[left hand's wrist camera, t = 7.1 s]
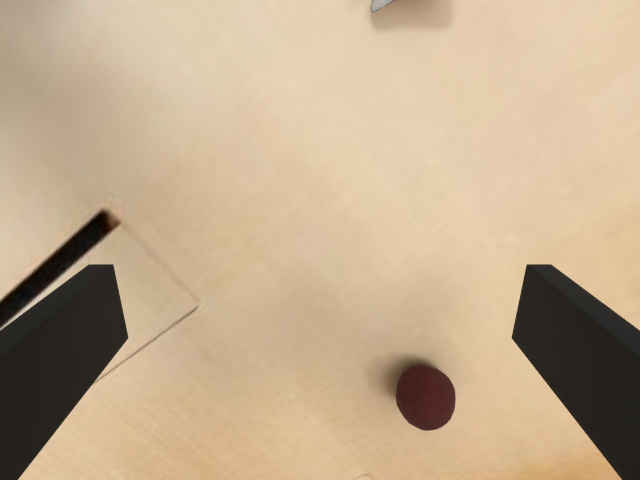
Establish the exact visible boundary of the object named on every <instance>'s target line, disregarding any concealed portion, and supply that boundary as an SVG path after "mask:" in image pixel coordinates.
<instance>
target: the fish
mask: <svg viewBox="0 0 640 480" xmlns="http://www.w3.org/2000/svg"><path fill="white" fill-rule="evenodd" d="M393 1H394V0H373V1H372V4H371V8H370V9H371V11H372V13H373V12H375V11H377V10H379V9H380V8H382V7H384V6H386V5H387V4H389V3H391V2H393Z"/></svg>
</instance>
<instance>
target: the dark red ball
mask: <svg viewBox="0 0 640 480" xmlns="http://www.w3.org/2000/svg"><path fill="white" fill-rule="evenodd" d="M396 401H397V406H398V408H399V410H400V412H401V413H402V415H403V416H404V418H405V419H406V420H407V421H408V422H409V423H410V424H412V425H413V426H415V427H417V428H419V429H421V430H425V431H428V430H435V429H438V428H440V427H442V426H444V425H445V424H446V423H447V422H448V421H449V420H450V419H451V416H452V414H453V412H454V409H455V389H454V387H453V384H452V383H451V381H450V379H449V378H448V377H447V376H446V375H445V374H444V373H442V372H441V371H439V370H438V369H435V368H432V367H428V366H425V365H419V366H414V367H411V368H408V369H407V370H406V371H405V372H404V373H403V374H402V376H401V378H400V379H399V381H398V384H397V390H396Z"/></svg>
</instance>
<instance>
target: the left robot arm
mask: <svg viewBox="0 0 640 480" xmlns="http://www.w3.org/2000/svg"><path fill="white" fill-rule="evenodd" d="M127 339H128V334H127V329H126V324H125V319H124V315H123V310H122V305H121V300H120V295H119V290H118V286H117V281H116V276H115V271H114V266H113V265H88V266H86V267H85V268H84V269H82V270H81V271H80V272H78V273H77V274H76V275H74V276H73V277H72V278H70V279H69V280H68V281H66V282H65V283H64V284H62V285H61V286H60V287H58V288H57V289H56V290H54V291H53V292H51V293H50V294H49V295H47V296H46V297H45V298H43V299H42V300H41V301H39V302H38V303H37V304H35V305H34V306H33V307H31V308H30V309H29V310H27V311H26V312H25V313H23V314H22V315H21V316H19V317H18V318H17V319H15V320H14V321H13V322H11V323H10V324H9V325H7V326H6V327H5V328H3V329H2V330H0V480H18V479H19V477H20V476H21V475H22V474H23V472H24V471H25V470H26V469H27V467H28V466H29V465H30V463H31V462H32V461H33V460H34V458H35V457H36V456H37V454H38V453H39V452H40V451H41V449H42V448H43V447H44V445H45V444H46V443H47V442H48V440H49V439H50V438H51V436H52V435H53V434H54V433H55V431H56V430H57V429H58V428H59V426H60V425H61V424H62V422H63V421H64V420H65V419H66V417H67V416H68V415H69V413H70V412H71V411H72V410H73V408H74V407H75V406H76V404H77V403H78V402H79V401H80V399H81V398H82V397H83V395H84V394H85V393H86V392H87V390H88V389H89V388H90V387H91V385H92V384H93V383H94V381H95V380H96V379H97V378H98V376H99V375H100V374H101V372H102V371H103V370H104V369H105V367H106V366H107V365H108V363H109V362H110V361H111V360H112V358H113V357H114V356H115V354H116V353H117V352H118V351H119V349H120V348H121V347H122V345H123V344H124V343H125V342H126V340H127ZM512 339H513V340H514V342H515V343H516V344H517V345H518V347H519V348H520V349H521V351H522V352H523V353H524V354H525V356H526V357H527V358H528V360H529V361H530V362H531V363H532V365H533V366H534V367H535V369H536V370H537V371H538V372H539V374H540V375H541V376H542V378H543V379H544V380H545V381H546V383H547V384H548V385H549V387H550V388H551V389H552V390H553V392H554V393H555V394H556V395H557V397H558V398H559V399H560V401H561V402H562V403H563V404H564V406H565V407H566V408H567V410H568V411H569V412H570V413H571V415H572V416H573V417H574V419H575V420H576V421H577V422H578V424H579V425H580V426H581V428H582V429H583V430H584V431H585V433H586V434H587V435H588V436H589V438H590V439H591V440H592V442H593V443H594V444H595V445H596V447H597V448H598V449H599V451H600V452H601V453H602V454H603V456H604V457H605V458H606V460H607V461H608V462H609V463H610V465H611V466H612V467H613V469H614V470H615V471H616V472H617V474H618V475H619V476H620V477H621V479H622V480H640V330H638V329H637V328H635V327H634V326H633V325H631V324H630V323H629V322H627V321H626V320H625V319H623V318H622V317H621V316H619V315H618V314H617V313H615V312H614V311H613V310H611V309H610V308H609V307H607V306H606V305H605V304H603V303H602V302H601V301H599V300H598V299H597V298H595V297H594V296H593V295H591V294H590V293H589V292H587V291H586V290H584V289H583V288H582V287H580V286H579V285H578V284H576V283H575V282H574V281H572V280H571V279H570V278H568V277H567V276H566V275H564V274H563V273H562V272H560V271H559V270H558V269H556V268H555V267H554V266H552V265H527V266H526V271H525V276H524V281H523V285H522V290H521V295H520V300H519V305H518V310H517V315H516V319H515V324H514V329H513V334H512Z"/></svg>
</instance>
